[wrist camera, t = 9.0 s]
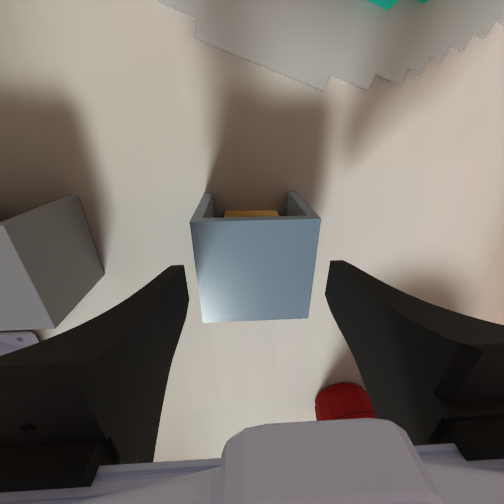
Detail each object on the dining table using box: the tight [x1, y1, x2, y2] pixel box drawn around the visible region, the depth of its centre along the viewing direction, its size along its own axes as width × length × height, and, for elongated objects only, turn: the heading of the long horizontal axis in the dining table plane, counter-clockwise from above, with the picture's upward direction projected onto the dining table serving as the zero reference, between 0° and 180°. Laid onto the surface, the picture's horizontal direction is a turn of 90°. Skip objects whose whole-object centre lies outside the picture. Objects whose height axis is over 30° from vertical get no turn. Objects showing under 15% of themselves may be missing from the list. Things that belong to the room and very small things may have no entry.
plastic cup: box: [315, 383, 376, 421], centre depth 22 cm, size 11×11×12 cm
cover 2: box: [190, 191, 321, 323], centre depth 15 cm, size 6×6×6 cm
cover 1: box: [0, 195, 105, 331], centre depth 14 cm, size 6×6×6 cm
